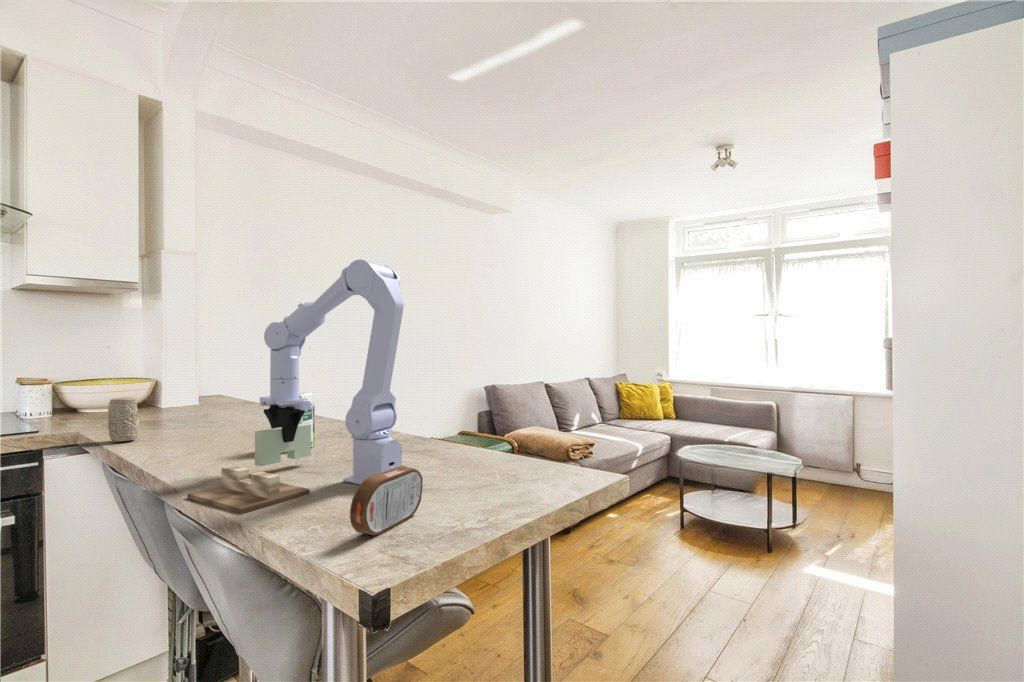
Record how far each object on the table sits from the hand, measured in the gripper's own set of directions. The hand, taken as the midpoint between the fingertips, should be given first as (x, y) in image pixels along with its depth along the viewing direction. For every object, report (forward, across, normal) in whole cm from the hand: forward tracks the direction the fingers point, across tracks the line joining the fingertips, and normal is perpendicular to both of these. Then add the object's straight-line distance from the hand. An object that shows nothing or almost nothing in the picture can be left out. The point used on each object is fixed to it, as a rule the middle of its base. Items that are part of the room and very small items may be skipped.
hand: (284, 440), depth 110 cm
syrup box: (+6, -16, +16) cm, 24 cm away
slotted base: (+6, +11, -15) cm, 20 cm away
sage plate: (+4, 0, 0) cm, 4 cm away
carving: (+6, -64, -3) cm, 64 cm away
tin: (+7, +43, -13) cm, 45 cm away
